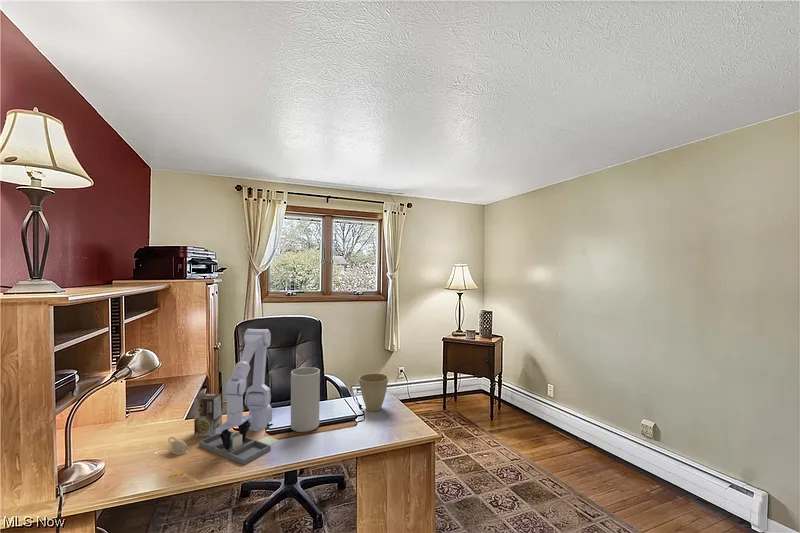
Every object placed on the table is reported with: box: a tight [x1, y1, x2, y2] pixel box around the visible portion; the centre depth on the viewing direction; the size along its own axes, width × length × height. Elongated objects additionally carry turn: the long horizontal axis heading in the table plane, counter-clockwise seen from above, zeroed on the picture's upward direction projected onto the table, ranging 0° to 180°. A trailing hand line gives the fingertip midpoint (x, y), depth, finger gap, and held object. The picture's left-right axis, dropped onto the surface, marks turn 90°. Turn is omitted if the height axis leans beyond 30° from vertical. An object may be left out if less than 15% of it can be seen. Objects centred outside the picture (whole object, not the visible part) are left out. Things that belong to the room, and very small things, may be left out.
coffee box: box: [193, 393, 223, 437], centre depth 157 cm, size 9×6×16 cm
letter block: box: [228, 431, 242, 450], centre depth 144 cm, size 4×4×5 cm
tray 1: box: [198, 429, 236, 453], centre depth 149 cm, size 12×9×2 cm
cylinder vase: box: [290, 366, 321, 433], centre depth 165 cm, size 12×12×25 cm
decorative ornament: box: [167, 436, 190, 456], centre depth 141 cm, size 4×8×5 cm, turn 64°
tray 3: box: [227, 439, 272, 466], centre depth 140 cm, size 12×9×2 cm
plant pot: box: [358, 372, 389, 412], centre depth 186 cm, size 15×15×16 cm
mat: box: [257, 435, 280, 446], centre depth 150 cm, size 7×7×1 cm
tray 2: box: [212, 436, 255, 459], centre depth 144 cm, size 12×9×2 cm
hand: (234, 444), depth 144 cm, fingers open, 6 cm apart
